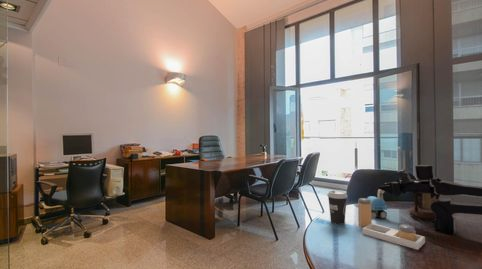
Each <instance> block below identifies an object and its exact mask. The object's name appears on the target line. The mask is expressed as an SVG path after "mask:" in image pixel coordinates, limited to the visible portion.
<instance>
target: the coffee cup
mask: <svg viewBox="0 0 482 269" xmlns="http://www.w3.org/2000/svg"><path fill="white" fill-rule="evenodd" d="M326 197H328V199H327V200H328V206H329V208H328V209H329V217H330V222H331V223H333V224H335V223H336V224H335V225H343V224H344V225H345V223H346V209H347V198H348V195H347V192H346V191H344V190H329V191H328V193H327V196H326Z"/></svg>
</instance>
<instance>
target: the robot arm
mask: <svg viewBox="0 0 482 269" xmlns="http://www.w3.org/2000/svg"><path fill="white" fill-rule="evenodd" d="M414 169H415V176H416V178H417V180H418V179H419V180H420V181H417V180H416V179H412V178H411V176H410V174H409V172H408V171H407V169H406V168H403V169H401V170H399V171H397V173H396V174H397V175H398V176H399V178H398V179H396V181H392V182H385V183H386V184H385V183H383V185H381V186H378V190H379V189H381V190H383V191H385V193H388V194H390V195H392V196H394V197H400V196H401V195H403V194H413V195H414V194H416V193H426V194H430V195H431V198H433V197H434V196H436V195H437V193H436V192H435V189H436V191H437V192H438V193H439V194H440V196H441V195H442V196H459V195H460V196H462V195H464V196H470V197H471V196H473V197H481V198H482V186H478V185H477V186H476V185H467V184H466V185H465V184H460V183H457V182H453V181H449V180H446V179H445V180H442V179H440V178H439V177H437V176H435V174H434V165H432V164H431V165H429V164H428V165H427V164H417V165H416V164H415V165H414ZM431 183H432V184H433V185H434V186H435V188H434V186H433V185H432V184H431ZM431 210H432V211H433V212H434V213H435V214H436V218H435V219H434V221H433V222H434V224H433V226H434V231H436V232H438V233H444V234H448V235H452V236H453V235H455V234H456V233H457V230H456V217H454V216H455V214H467V215H468V214H469V215H477V216H478V215H479V216H480V215H481V216H482V203H481V204H479V203H463V202H461V203H460V202H455V201H452V198H451V197H450V198H449V197H448V198H442V197H439V199H436V200H434V201H433V203H432V204H431Z"/></svg>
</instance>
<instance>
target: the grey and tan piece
mask: <svg viewBox="0 0 482 269" xmlns="http://www.w3.org/2000/svg"><path fill="white" fill-rule="evenodd" d="M398 228H399V229H397V230H398V231H399V237H400V238H403V239H407V240H411V241H414V242H416V235H417V234H416V228H415V226H412V225H410V224H399V227H398Z"/></svg>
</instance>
